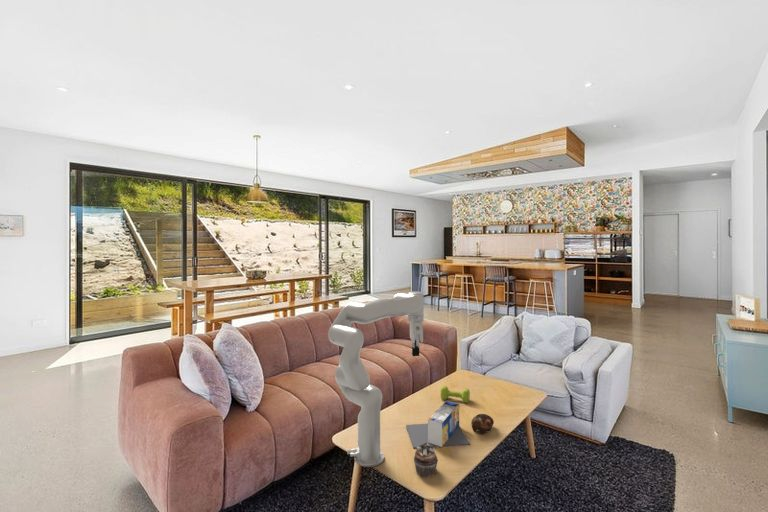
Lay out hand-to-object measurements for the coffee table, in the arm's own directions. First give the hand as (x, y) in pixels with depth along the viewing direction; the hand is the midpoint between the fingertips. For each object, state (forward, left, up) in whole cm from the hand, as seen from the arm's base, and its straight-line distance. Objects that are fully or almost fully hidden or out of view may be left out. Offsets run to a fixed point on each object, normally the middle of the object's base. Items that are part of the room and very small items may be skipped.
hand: (415, 355), depth 180 cm
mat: (+9, -5, -37) cm, 39 cm away
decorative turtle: (+32, -4, -37) cm, 49 cm away
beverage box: (+6, -14, -31) cm, 35 cm away
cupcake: (-2, -31, -37) cm, 49 cm away
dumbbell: (+29, +31, -38) cm, 57 cm away
